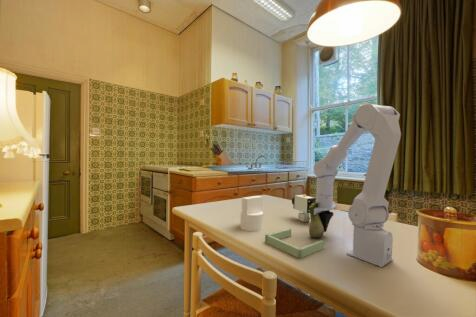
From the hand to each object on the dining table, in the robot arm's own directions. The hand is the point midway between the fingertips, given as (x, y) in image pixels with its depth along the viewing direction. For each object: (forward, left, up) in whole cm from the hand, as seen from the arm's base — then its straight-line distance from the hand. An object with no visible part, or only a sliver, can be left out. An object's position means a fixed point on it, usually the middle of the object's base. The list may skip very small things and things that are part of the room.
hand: (323, 230), depth 82 cm
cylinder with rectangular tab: (+21, +17, -2) cm, 27 cm away
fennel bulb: (0, +4, -1) cm, 4 cm away
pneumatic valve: (+15, -9, -2) cm, 18 cm away
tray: (0, +17, -2) cm, 17 cm away
